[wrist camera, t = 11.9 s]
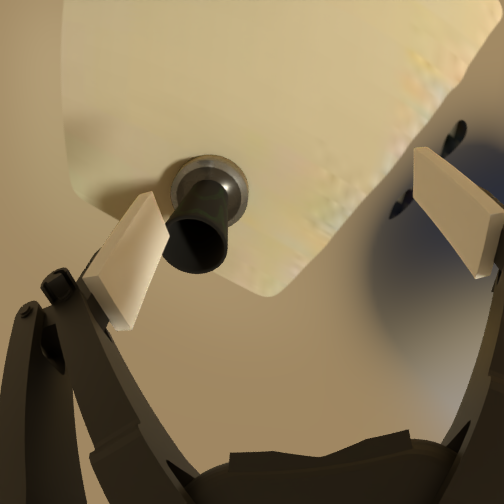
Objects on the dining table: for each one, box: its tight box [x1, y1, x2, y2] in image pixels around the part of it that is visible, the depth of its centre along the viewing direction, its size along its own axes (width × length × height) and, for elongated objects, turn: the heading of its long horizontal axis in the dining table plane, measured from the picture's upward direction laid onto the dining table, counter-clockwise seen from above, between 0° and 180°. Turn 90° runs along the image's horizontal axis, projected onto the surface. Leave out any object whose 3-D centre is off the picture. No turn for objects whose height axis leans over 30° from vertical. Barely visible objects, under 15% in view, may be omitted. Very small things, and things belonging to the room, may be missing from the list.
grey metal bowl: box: [171, 155, 249, 227], centre depth 45 cm, size 11×11×3 cm
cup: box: [162, 180, 228, 274], centre depth 39 cm, size 8×8×12 cm
